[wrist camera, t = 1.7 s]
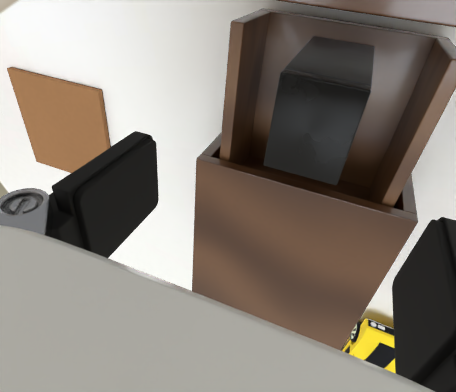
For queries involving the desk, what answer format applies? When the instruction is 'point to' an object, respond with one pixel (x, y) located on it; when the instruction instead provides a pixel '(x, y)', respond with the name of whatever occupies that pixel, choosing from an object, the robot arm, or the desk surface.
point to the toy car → (373, 344)
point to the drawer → (378, 100)
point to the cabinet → (292, 247)
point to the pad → (61, 119)
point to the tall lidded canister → (319, 108)
